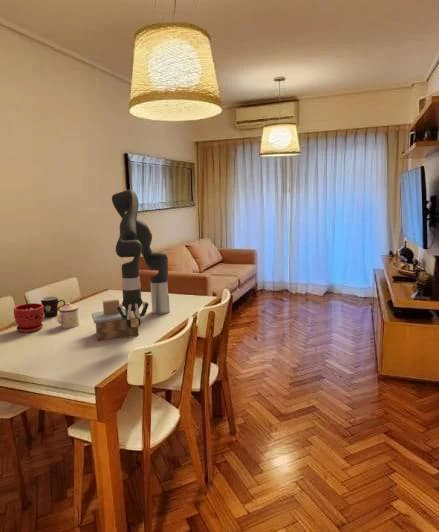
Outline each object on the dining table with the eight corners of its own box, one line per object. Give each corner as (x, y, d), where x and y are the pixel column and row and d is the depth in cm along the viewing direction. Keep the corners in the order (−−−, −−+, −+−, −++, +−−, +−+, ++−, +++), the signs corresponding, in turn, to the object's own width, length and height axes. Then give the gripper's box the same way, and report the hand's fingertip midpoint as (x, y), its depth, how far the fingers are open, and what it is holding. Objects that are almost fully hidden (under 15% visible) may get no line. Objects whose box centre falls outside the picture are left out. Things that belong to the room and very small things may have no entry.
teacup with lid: (69, 321, 202) (67, 300, 200) (83, 323, 198) (81, 301, 196) (51, 329, 191) (49, 306, 189) (65, 331, 188) (63, 307, 186)
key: (134, 317, 174) (134, 311, 174) (138, 326, 162) (138, 319, 162) (128, 318, 173) (127, 312, 173) (131, 327, 161) (131, 320, 161)
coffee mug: (38, 317, 211) (37, 299, 209) (50, 313, 219) (49, 295, 217) (55, 319, 207) (54, 301, 205) (67, 314, 214) (65, 297, 213)
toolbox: (134, 327, 190) (133, 301, 188) (138, 336, 178) (137, 308, 176) (96, 332, 184) (94, 305, 182) (97, 342, 172) (95, 312, 170)
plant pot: (18, 336, 182) (15, 311, 180) (14, 329, 193) (11, 305, 190) (48, 330, 190) (45, 306, 188) (42, 323, 200) (39, 301, 198)
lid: (132, 310, 192) (131, 295, 190) (137, 317, 180) (136, 302, 178) (91, 315, 184) (90, 300, 183) (94, 323, 172) (93, 307, 171)
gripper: (146, 284, 169) (148, 322, 172) (113, 287, 165) (116, 326, 168) (149, 287, 162) (151, 327, 165) (115, 291, 158) (117, 331, 161)
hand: (133, 326), depth 166 cm, fingers open, 3 cm apart
